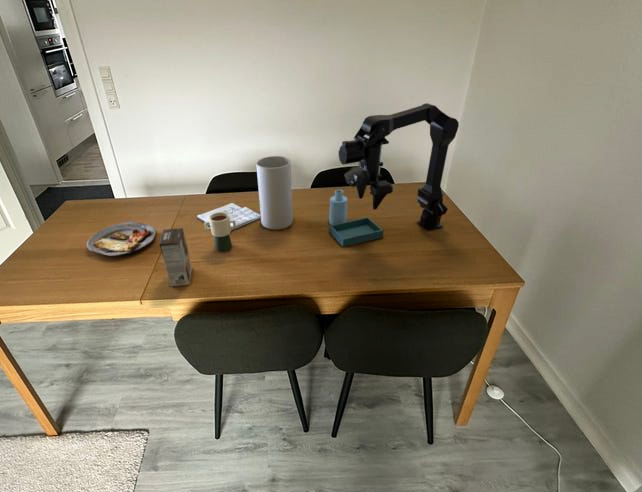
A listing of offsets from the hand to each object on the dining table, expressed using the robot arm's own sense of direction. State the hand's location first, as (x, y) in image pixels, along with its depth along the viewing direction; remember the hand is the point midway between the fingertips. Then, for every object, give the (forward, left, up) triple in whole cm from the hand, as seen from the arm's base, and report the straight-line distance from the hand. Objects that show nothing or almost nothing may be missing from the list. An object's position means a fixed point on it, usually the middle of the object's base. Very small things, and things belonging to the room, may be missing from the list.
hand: (367, 203), depth 128 cm
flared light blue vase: (+3, -16, -14) cm, 21 cm away
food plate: (+84, -35, -15) cm, 92 cm away
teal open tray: (+1, -4, -14) cm, 15 cm away
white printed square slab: (+42, -37, -15) cm, 58 cm away
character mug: (+49, -15, -15) cm, 53 cm away
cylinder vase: (+25, -25, -15) cm, 38 cm away
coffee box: (+66, -3, -15) cm, 68 cm away
